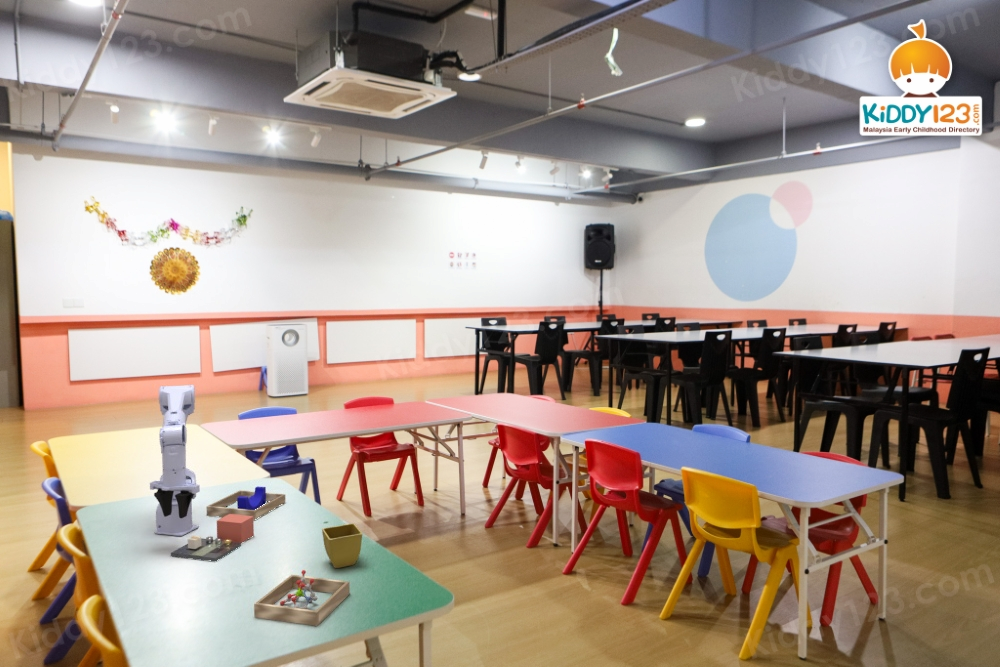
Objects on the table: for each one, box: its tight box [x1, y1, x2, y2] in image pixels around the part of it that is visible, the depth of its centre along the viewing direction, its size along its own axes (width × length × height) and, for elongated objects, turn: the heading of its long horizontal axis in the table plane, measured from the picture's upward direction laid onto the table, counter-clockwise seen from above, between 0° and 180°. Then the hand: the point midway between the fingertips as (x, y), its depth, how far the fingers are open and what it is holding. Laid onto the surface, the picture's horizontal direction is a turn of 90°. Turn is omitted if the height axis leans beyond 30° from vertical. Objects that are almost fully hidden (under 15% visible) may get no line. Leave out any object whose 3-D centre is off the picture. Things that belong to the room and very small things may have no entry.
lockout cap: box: [216, 514, 255, 544], centre depth 191 cm, size 8×6×6 cm
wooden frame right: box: [253, 574, 351, 627], centre depth 151 cm, size 15×15×3 cm
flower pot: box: [321, 523, 363, 569], centre depth 174 cm, size 9×9×9 cm
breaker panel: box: [170, 536, 242, 562], centre depth 182 cm, size 14×11×2 cm
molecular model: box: [279, 569, 318, 610], centre depth 151 cm, size 7×8×7 cm
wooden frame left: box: [206, 490, 286, 521], centre depth 216 cm, size 17×17×3 cm
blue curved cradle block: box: [236, 486, 267, 510], centre depth 216 cm, size 12×4×6 cm, turn 170°
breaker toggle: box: [187, 535, 202, 549], centre depth 181 cm, size 2×2×3 cm
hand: (175, 516), depth 182 cm, fingers open, 4 cm apart
